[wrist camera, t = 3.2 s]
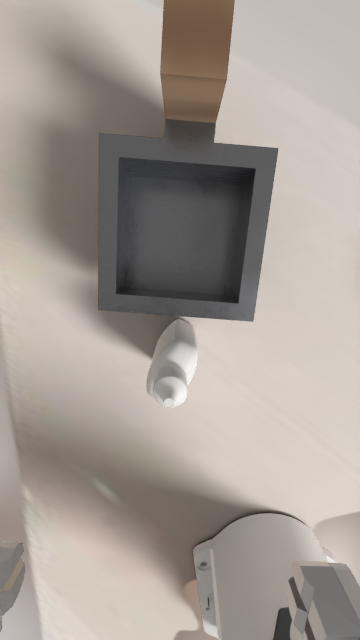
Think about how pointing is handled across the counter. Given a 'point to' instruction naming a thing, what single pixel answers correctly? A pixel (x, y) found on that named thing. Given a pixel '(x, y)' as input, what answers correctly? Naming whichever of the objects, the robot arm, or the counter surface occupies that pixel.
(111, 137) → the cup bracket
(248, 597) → the robot arm
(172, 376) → the eye dropper bottle
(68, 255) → the counter surface
